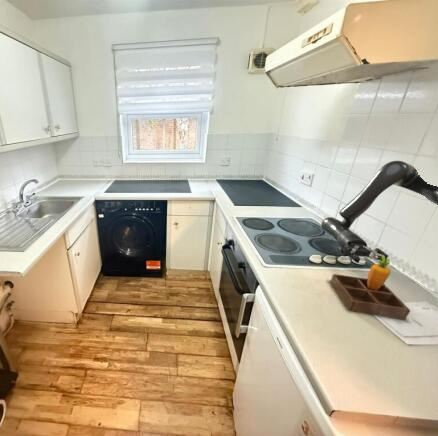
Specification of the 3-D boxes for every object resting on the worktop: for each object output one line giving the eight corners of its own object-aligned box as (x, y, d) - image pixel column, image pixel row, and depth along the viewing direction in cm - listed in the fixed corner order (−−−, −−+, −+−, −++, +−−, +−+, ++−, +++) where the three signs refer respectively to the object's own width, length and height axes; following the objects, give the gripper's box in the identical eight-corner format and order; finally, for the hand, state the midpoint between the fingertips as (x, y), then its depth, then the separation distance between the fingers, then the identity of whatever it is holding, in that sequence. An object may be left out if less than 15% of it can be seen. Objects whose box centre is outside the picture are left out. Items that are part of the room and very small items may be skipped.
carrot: (379, 299, 84) (396, 263, 78) (361, 292, 87) (376, 257, 81) (379, 292, 87) (396, 257, 81) (361, 286, 90) (376, 252, 84)
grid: (376, 289, 90) (381, 280, 88) (405, 320, 76) (410, 310, 74) (329, 282, 93) (333, 273, 92) (348, 310, 80) (352, 301, 78)
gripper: (334, 232, 102) (353, 251, 88) (373, 236, 99) (400, 256, 84) (329, 247, 105) (346, 267, 91) (367, 251, 102) (391, 273, 87)
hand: (372, 262), depth 88 cm, fingers open, 8 cm apart
